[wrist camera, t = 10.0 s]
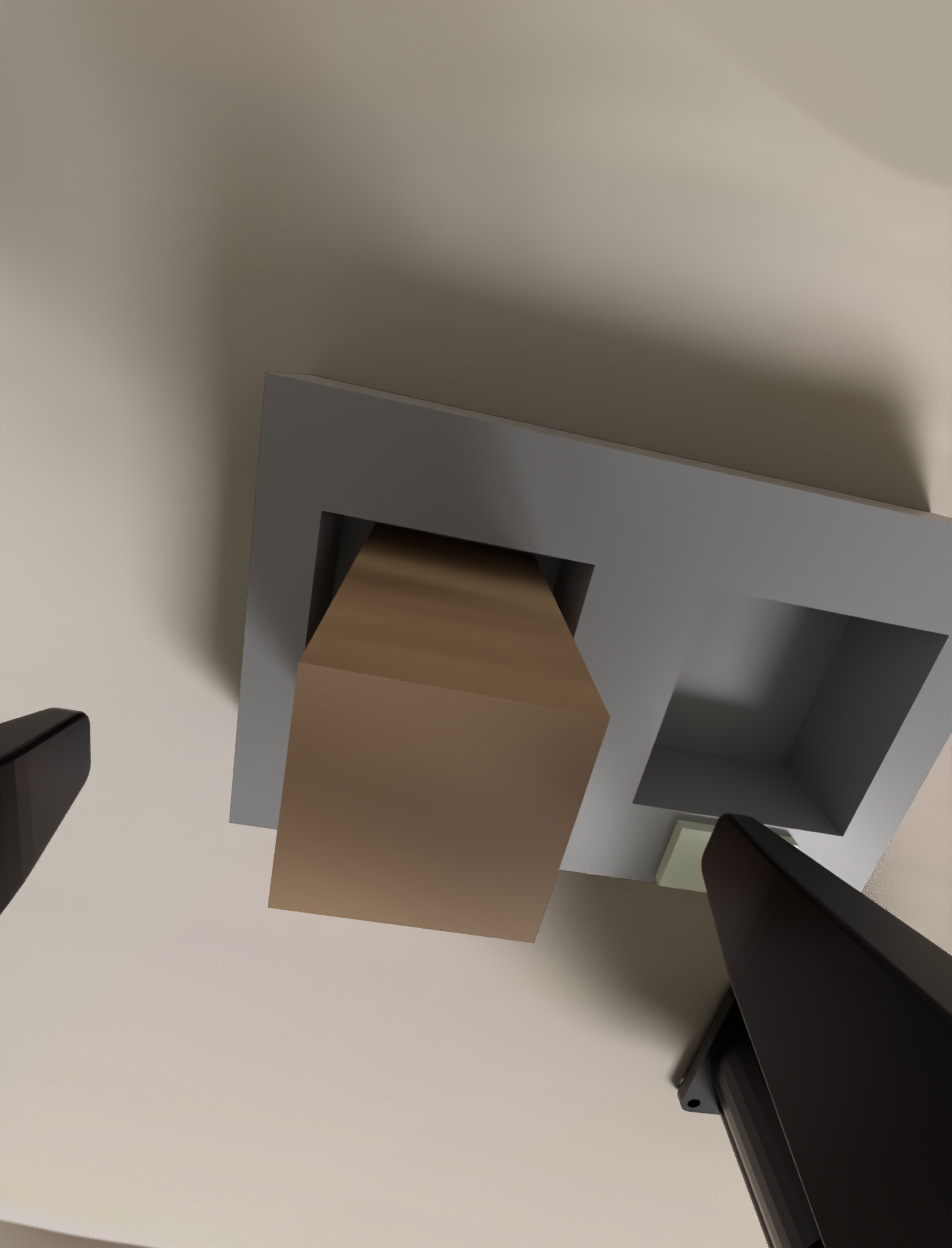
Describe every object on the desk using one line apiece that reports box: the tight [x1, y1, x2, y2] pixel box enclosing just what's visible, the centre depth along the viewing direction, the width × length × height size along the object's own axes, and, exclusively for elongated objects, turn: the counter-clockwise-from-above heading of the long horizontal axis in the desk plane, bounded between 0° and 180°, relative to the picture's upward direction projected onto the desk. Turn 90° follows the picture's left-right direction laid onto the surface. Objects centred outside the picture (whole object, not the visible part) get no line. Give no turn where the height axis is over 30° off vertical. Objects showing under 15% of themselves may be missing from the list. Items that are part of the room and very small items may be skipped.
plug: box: [268, 523, 610, 943], centre depth 12 cm, size 4×4×8 cm
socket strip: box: [229, 372, 952, 893], centre depth 15 cm, size 10×16×4 cm, turn 78°
